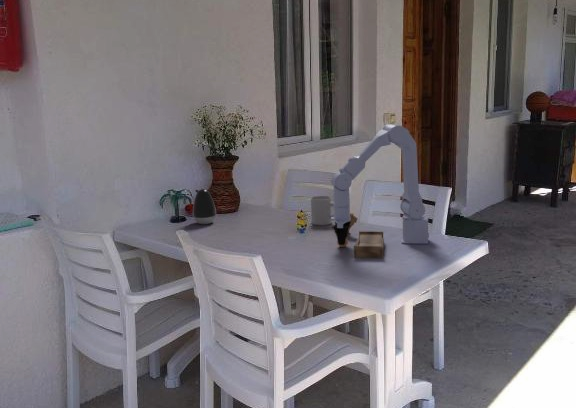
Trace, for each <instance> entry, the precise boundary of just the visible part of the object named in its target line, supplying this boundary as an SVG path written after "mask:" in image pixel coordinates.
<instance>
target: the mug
mask: <svg viewBox="0 0 576 408" xmlns="http://www.w3.org/2000/svg"><path fill="white" fill-rule="evenodd" d="M332 207H333V208H334V202H332V197H331V196H330V195H329V196H328V195H318V196H317V195H316V196H312V197H311V198H310V208H311V209H310V210H311V213H310V214H311V215H310V216H311V224H312V225H314V226H328V225H330V224H332V223H333V222H332V221H333V220H331V217H334V214H332Z"/></svg>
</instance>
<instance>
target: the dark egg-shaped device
mask: <svg viewBox="0 0 576 408" xmlns="http://www.w3.org/2000/svg"><path fill="white" fill-rule="evenodd" d="M195 192H196V194H195V198H194V199H193V206H192V217H193V219H194V221H195V222H196V223H197V224H199V225H210V224H211V223H212V224H213V222H214V221H215V219H216V216H217V209H216V205H215V202H214V200H213V197H212V195H211V193H210V192H209V190H207V189H205V188H201V189H195Z"/></svg>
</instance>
